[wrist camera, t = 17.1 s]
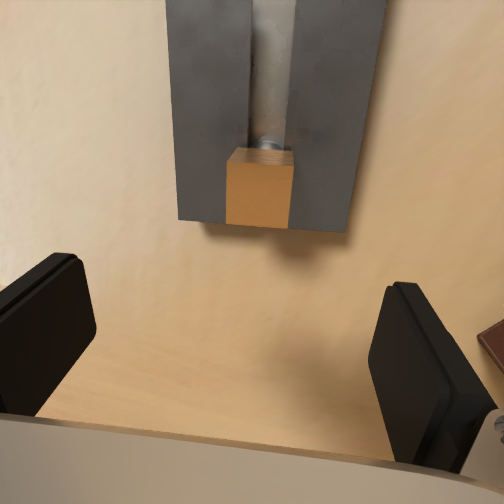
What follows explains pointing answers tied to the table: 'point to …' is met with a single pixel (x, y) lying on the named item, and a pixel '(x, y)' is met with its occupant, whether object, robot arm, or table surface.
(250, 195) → the peg
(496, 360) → the letter holder
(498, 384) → the table surface
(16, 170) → the table surface
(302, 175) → the keyhole track
